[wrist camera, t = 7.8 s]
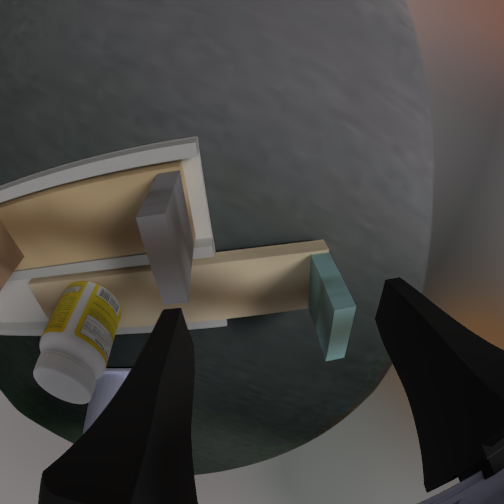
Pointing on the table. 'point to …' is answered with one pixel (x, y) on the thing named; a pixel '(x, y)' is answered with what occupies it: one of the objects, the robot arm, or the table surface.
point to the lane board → (24, 302)
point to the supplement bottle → (77, 342)
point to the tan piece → (231, 290)
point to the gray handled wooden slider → (111, 223)
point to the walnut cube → (8, 255)
